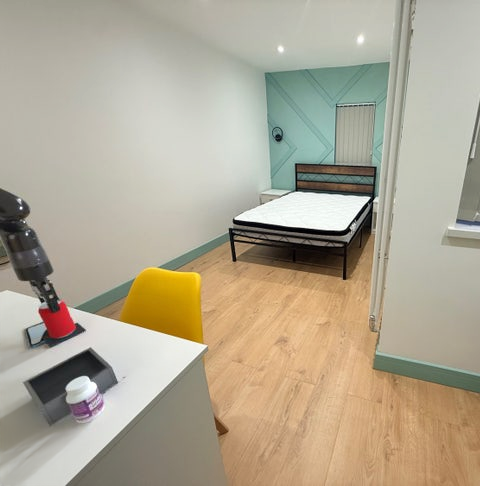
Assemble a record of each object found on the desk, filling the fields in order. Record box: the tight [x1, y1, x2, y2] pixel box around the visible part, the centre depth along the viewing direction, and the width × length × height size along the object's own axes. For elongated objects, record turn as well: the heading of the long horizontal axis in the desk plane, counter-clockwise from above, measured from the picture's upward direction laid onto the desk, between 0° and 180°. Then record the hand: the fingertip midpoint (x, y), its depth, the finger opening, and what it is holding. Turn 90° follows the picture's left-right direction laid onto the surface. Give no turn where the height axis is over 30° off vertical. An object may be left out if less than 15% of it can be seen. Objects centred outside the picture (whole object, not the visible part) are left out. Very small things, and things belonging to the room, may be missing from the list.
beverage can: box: [37, 298, 76, 338], centre depth 85 cm, size 6×6×12 cm
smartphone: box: [24, 321, 50, 349], centre depth 89 cm, size 7×1×15 cm
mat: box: [43, 322, 87, 348], centre depth 87 cm, size 9×7×1 cm
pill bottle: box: [66, 376, 106, 424], centre depth 61 cm, size 5×5×10 cm
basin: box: [22, 347, 119, 427], centre depth 67 cm, size 14×14×6 cm
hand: (51, 307), depth 84 cm, fingers open, 8 cm apart
